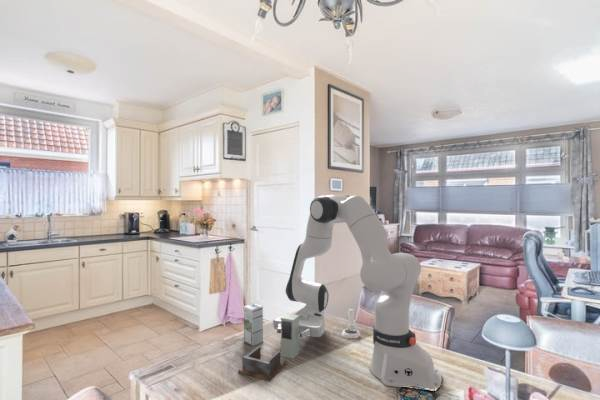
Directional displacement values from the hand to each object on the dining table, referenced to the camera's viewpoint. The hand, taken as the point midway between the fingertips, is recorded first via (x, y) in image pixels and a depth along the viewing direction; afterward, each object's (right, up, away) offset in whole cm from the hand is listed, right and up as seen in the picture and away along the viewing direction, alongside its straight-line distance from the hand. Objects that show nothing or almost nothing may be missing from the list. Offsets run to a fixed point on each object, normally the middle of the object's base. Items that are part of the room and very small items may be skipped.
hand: (289, 333), depth 117 cm
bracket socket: (-9, -8, -9) cm, 15 cm away
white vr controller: (+26, -8, +18) cm, 32 cm away
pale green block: (0, -8, +1) cm, 8 cm away
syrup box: (-15, -8, +11) cm, 20 cm away
